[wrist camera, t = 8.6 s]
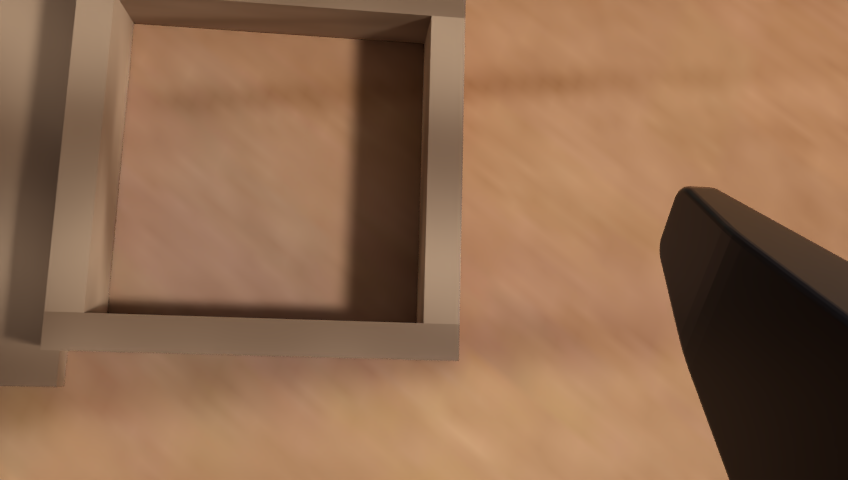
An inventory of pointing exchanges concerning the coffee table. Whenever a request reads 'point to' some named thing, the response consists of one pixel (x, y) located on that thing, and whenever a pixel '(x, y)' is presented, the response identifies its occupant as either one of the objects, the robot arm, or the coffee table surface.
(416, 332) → the wooden double frame
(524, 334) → the coffee table surface
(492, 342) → the coffee table surface
